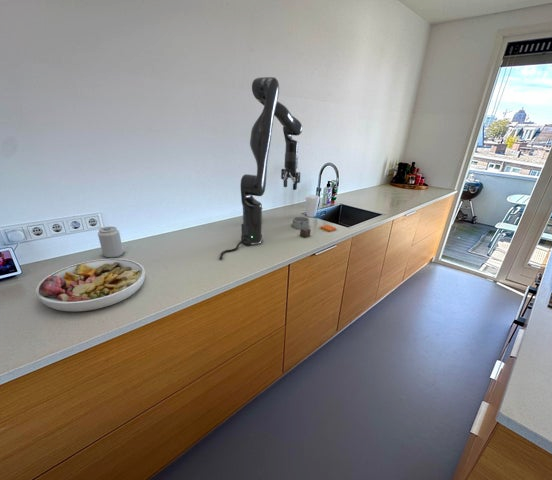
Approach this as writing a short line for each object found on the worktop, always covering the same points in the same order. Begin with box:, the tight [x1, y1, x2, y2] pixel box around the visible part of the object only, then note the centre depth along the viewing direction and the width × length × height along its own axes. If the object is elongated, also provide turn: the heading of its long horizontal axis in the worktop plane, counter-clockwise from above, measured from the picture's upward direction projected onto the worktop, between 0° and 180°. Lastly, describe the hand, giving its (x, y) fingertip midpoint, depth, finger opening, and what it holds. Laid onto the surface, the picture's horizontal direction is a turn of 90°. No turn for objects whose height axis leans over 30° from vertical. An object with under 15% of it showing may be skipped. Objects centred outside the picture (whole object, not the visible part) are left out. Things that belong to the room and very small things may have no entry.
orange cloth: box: [320, 224, 337, 233], centre depth 172 cm, size 6×7×1 cm
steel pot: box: [292, 216, 310, 230], centre depth 173 cm, size 10×10×4 cm
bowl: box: [35, 258, 146, 312], centre depth 97 cm, size 30×30×8 cm
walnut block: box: [299, 228, 311, 239], centre depth 159 cm, size 4×4×4 cm
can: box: [97, 226, 124, 259], centre depth 121 cm, size 8×8×12 cm
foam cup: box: [305, 194, 321, 218], centre depth 193 cm, size 10×9×13 cm
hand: (289, 188), depth 172 cm, fingers open, 7 cm apart
